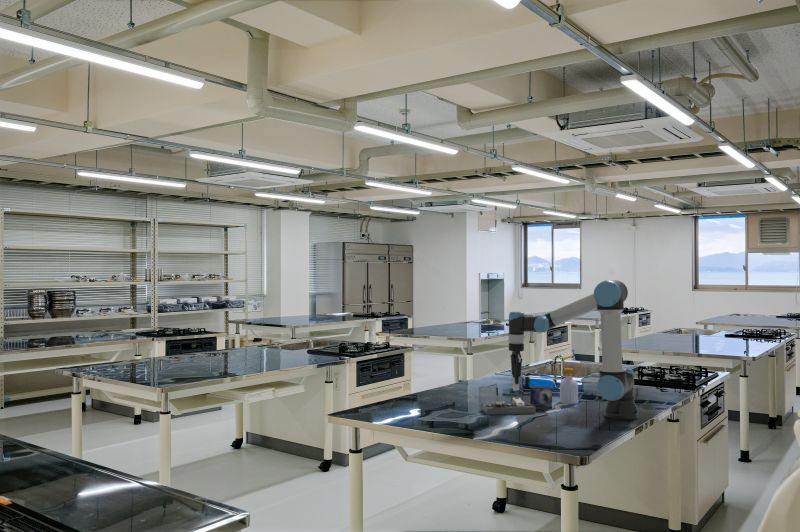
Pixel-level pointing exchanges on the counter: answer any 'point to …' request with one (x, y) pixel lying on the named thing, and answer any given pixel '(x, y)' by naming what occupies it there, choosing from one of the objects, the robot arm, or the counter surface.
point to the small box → (541, 396)
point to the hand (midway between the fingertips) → (516, 390)
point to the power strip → (510, 408)
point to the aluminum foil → (595, 375)
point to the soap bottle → (568, 387)
